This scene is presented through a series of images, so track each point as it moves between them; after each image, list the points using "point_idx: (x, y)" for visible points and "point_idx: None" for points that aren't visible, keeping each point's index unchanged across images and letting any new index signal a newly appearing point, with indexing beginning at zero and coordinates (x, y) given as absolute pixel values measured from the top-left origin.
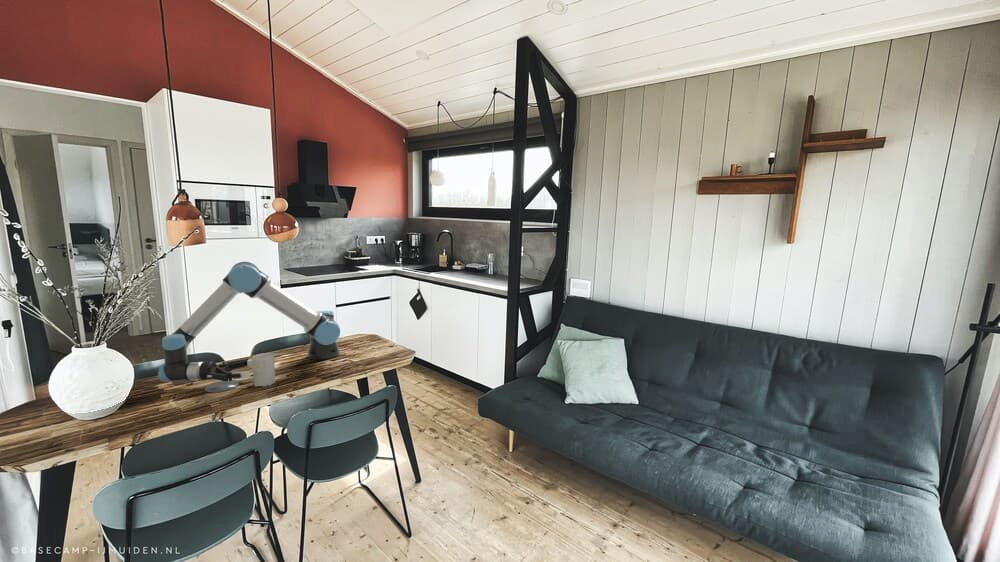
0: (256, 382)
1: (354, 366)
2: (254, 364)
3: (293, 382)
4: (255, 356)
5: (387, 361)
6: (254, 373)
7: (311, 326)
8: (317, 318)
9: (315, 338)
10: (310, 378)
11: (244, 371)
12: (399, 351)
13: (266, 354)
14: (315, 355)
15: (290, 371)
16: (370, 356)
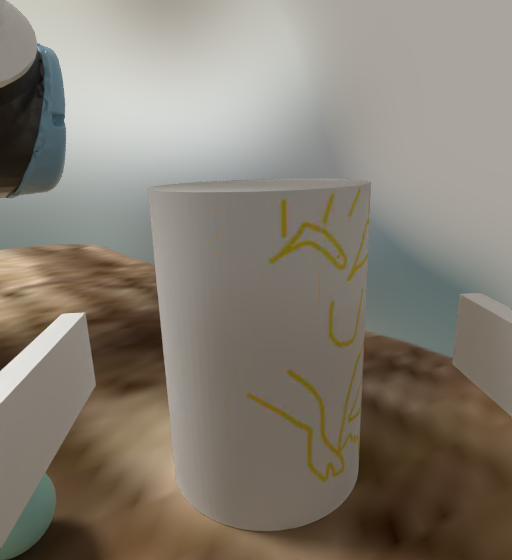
0: (357, 444)
1: (114, 275)
2: (364, 251)
3: None
4: (262, 188)
5: (106, 252)
6: (355, 364)
7: (29, 45)
8: (9, 3)
9: (45, 139)
10: None
11: (503, 314)
12: (21, 250)
13: (199, 185)
14: None
15: None
16: (19, 269)
